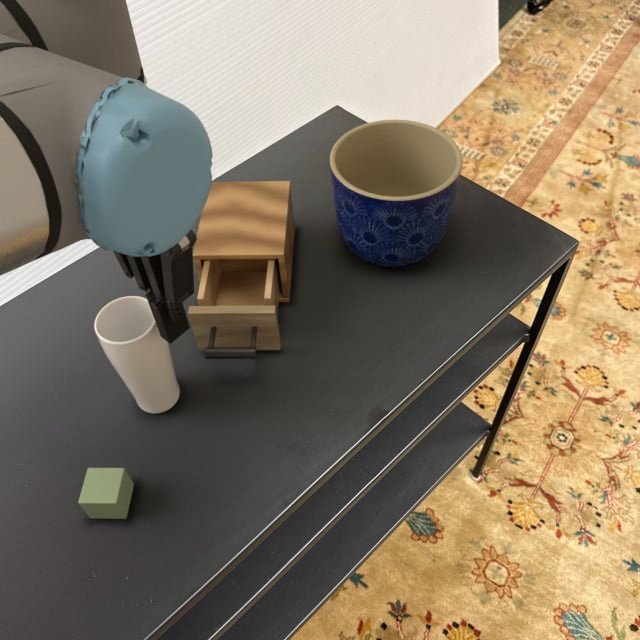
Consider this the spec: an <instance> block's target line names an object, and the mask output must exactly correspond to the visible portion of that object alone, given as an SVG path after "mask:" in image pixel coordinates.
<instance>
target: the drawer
mask: <svg viewBox="0 0 640 640" xmlns="http://www.w3.org/2000/svg"><path fill="white" fill-rule="evenodd" d="M280 281H281V277H280V269H279V261H278V259H205V261H204V266H203V271H202V276H201V281H199V287H198V292H197V297H196V300H197V303H198V305H189V306H188V310H187V316H188V319H189V322H190V325H191V326H190V327H191V329H192V332H193V335H194V338H195V341H196V345H197V348H198V351H204V353H203V354H204V355H203V356H204V358H205V359H206V360H255V359H257V357H258V351H281V346H282V342H281V334H280V327H279V321H278V319H279V318H278V315H279V303H280V302H279V292H280Z"/></svg>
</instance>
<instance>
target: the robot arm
mask: <svg viewBox="0 0 640 640" xmlns="http://www.w3.org/2000/svg"><path fill="white" fill-rule="evenodd" d="M147 84H148V79H147V76H145V73H144V68H143V64H142V60H141V56H140V51H139V48H138V44H137V40H136V36H135V31H134V28H133V24H132V19H131V16H130V12H129V7H128V3H127V0H0V277H1V276H3V275H5V274H8V273H10V272H12V271H15V270H16V269H19V268H20V267H23V266H25V265H28V264H29V263H33V262H34V261H37V260H39V259H41V258H44V257H45V256H49V255H51V254H53V253H56V252H58V251H60V250H63V249H65V248H67V247H69V246H71V245H74V244H76V243H78V242H80V241H85V240H91V241H92V242H93V243H94V244H95V245H96V246H97V247H99V248H100V249H103V250H104V251H112V252H113V254H114V256H115V258H116V260H117V262H118V264H119V266H120V268H121V270H122V271H123V273H124V275H125V276H126V277H127V278H128V279H133V278H134V279H135V282H136V284H137V287H138V288H139V290H141V291H142V292H144V293H145V298H146V299H147V300H148V303H149V306H150V308H151V311H152V314H153V317H154V319H155V322H156V325H157V327H158V330H159V333H160V336H161V337H162V338H163V339H164V340H166V341H167V342H168V343H169V345H170V344H172V343H174V342H175V341H176V340H177V339H179V338H180V337H181V336H182V335H184V334H185V333H186V332H187V331H188V330H189V329H191V326H190V323H189V320H188V317H187V316H188V315H187V313H186V310H185V306H184V302H185V301H186V300H187V299H189V298H190V297H191V296H192V295H193V294H195V277H194V259H193V248H194V247H195V242H196V240H197V234H196V232H194V230H192V229H193V228H194V226H195V225H196V223H197V222H198V220H199V217H201V214H202V210H203V208H204V206H205V203H206V201H207V198H208V195H209V192H210V187H211V182H213V174H212V166H213V156H214V155H213V148H212V142H211V140H210V136H209V134H208V131H207V129H206V127H205V125H204V123H203V122H202V121H201V119H200V118H199V116H198V115H197V114H196V113H195V112H194V111H193V110H192V109H190V108H189V107H187V106H186V105H185V104H183V103H181V102H180V101H177V100H175V99H173V98H171V97H169V96H166V95H165V94H162V93H161V92H158V91H156V90H154V89H152V88H149V87H148V85H147Z"/></svg>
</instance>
